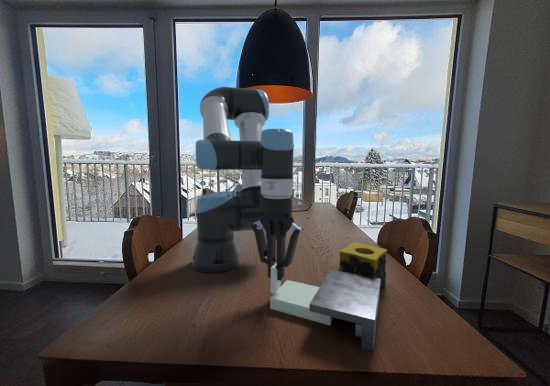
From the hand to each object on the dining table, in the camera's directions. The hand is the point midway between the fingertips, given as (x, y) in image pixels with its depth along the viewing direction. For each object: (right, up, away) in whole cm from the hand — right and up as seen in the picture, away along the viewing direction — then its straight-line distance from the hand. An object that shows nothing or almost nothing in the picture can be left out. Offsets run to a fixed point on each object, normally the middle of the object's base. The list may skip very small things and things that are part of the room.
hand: (275, 291), depth 64 cm
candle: (+24, -1, +8) cm, 25 cm away
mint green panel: (+7, -3, -3) cm, 8 cm away
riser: (+16, -3, -7) cm, 17 cm away
